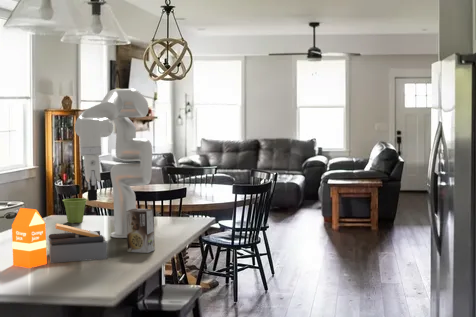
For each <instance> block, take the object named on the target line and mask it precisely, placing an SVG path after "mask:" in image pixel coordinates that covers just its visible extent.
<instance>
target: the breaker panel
mask: <svg viewBox="0 0 476 317" xmlns="http://www.w3.org/2000/svg"><path fill="white" fill-rule="evenodd" d="M100 236H103V235H102V234H100ZM75 237H76V238H83V237H79V234H76V233H75ZM103 238H104V242H91V243H76V244H62V245H51V244H50V241H51V240H54V239H49V238H48V256H49V261H50V263H52V264H53V263H54V264H55V263H67V262H78V261H91V260H95V261H96V260H105V259H106V260H107V259H108V243H107V241H106V238H105V236H103ZM64 239H69V238H64Z"/></svg>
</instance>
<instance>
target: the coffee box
mask: <svg viewBox="0 0 476 317" xmlns="http://www.w3.org/2000/svg"><path fill="white" fill-rule="evenodd" d="M154 211H155V210H154V208H136V209H131V210H128V211H126V222H127V238H126V246H127V247H126V248H127V251H126V252H127V253H143V254H144V253H145V254H146V253H147V254H149V253H151V252H153V251H155V250H156V247H155V246H156V245H155V216H154V214H155V212H154Z"/></svg>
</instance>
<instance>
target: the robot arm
mask: <svg viewBox="0 0 476 317" xmlns="http://www.w3.org/2000/svg"><path fill="white" fill-rule="evenodd" d="M148 112H149V103H148V100H147V99H146V97H145V96H144V95H143V94H142V93H141V92H139V90H137V89H135V88H115V89H111V90H109V91H108V92H107V93H106V94H105V96H104V97H103V99H102V101H101V102H100V103H98V104H95V105H93V106H91V107H89V108H87V109H85V110H84V111H82V112H81V113H80V114H79V115H78V117H77V118H76V120H75V123H74V131H75V134H76V136H78V137H80V142H79V143H80V156H81V157H83V159H84V162H83V164H84V177H85V178H84V179H85V181H86V182H87V201H88V202H92V201H97V200H98V190H97V182H99V183H100V182H101V179H102V178H101V166H100V165H101V164H100V157H101V156H102V138H107V137H110V136H111V134H113V130H114V125H115V129H116V132H115V133H116V136H115V157H116V158H117V159H118V160H120V161H124V162H123V163H117V164H116V163H115V164H114V165H113V166H112V167H111V168H110V180H111V184H112V193H113V194H112V196H113V227H114V229H113V230H114V231H113V232H111V233H110V237H112V238H115V239H116V238H117V239H127V222H126V211H128V210H131V209H137V203H136V202H137V201H136V199H137V197H136V193H135V191H134V190H133V188H132V187H131V186H147V185H149V184H150V183H151V181H152V174H153V172H152V170H153V168H152V167H153V145H152V143H151V141H150V140H148V139H147V138H137V127H136V125H135V124H134V123H133V121H132V120H131V119H130V118H143V117H146V116H147V115H148ZM112 121H113V122H112ZM125 161H126V163H125ZM127 161H128V162H129V161H130V162H131V161H132V162H133V161H139V163H127Z"/></svg>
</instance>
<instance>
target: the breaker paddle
mask: <svg viewBox="0 0 476 317" xmlns="http://www.w3.org/2000/svg"><path fill="white" fill-rule="evenodd" d="M54 227H55V229H56V230H59V231H63V232H67V233H76V234H81V235H85V236H89V237H98V236H100V235H101V234H100V235H99V234H98V233H97V232H94V231H95V230H86V229H83V228H79V227H73V226H69V225H65V224H62V223H55V226H54Z"/></svg>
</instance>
